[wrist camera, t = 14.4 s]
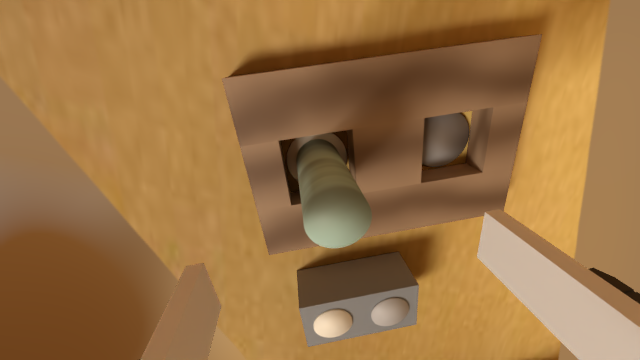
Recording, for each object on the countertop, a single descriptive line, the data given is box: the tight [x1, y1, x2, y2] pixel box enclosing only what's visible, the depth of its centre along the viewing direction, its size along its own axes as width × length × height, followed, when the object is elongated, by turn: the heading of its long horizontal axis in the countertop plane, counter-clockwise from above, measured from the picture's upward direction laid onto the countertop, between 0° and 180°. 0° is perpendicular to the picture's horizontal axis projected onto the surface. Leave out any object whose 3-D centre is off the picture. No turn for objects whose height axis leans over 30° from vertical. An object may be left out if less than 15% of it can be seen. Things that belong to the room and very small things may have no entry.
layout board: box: [222, 34, 542, 255], centre depth 23 cm, size 16×24×2 cm, turn 97°
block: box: [297, 252, 419, 347], centre depth 29 cm, size 6×12×5 cm, turn 97°
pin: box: [296, 139, 372, 248], centre depth 19 cm, size 4×4×10 cm
